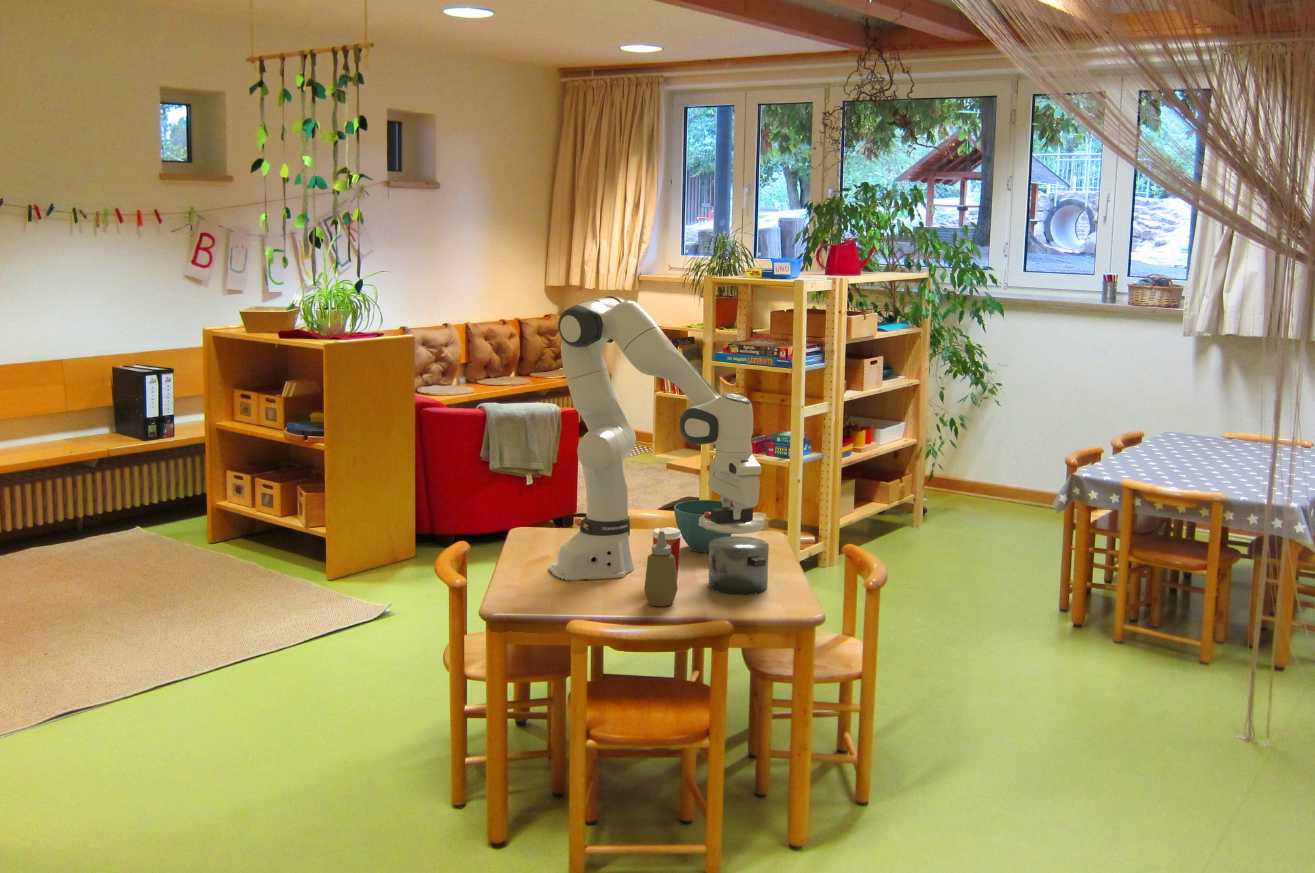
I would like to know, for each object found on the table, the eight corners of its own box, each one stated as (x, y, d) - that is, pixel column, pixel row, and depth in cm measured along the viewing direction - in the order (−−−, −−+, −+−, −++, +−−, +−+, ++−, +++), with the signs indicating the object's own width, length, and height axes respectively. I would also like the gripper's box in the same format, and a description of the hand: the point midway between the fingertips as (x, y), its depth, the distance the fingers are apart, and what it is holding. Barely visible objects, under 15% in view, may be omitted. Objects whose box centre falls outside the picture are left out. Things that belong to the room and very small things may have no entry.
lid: (716, 536, 273) (717, 518, 272) (688, 519, 287) (688, 503, 286) (776, 530, 279) (777, 513, 278) (745, 514, 294) (745, 498, 293)
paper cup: (646, 580, 299) (647, 528, 297) (673, 577, 302) (674, 525, 300) (658, 589, 292) (659, 535, 290) (686, 586, 295) (687, 532, 293)
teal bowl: (660, 547, 330) (660, 505, 328) (705, 536, 342) (706, 496, 340) (705, 561, 317) (705, 518, 315) (750, 549, 329) (752, 507, 327)
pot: (732, 602, 283) (733, 558, 281) (692, 577, 302) (693, 536, 300) (785, 594, 289) (786, 552, 287) (743, 570, 309) (744, 530, 307)
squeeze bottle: (652, 610, 276) (652, 537, 273) (638, 600, 283) (639, 529, 280) (682, 606, 279) (683, 534, 276) (669, 596, 287) (670, 526, 283)
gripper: (703, 453, 288) (701, 507, 291) (741, 470, 270) (739, 527, 272) (725, 452, 291) (723, 505, 293) (765, 468, 272) (762, 525, 275)
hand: (731, 516), depth 283 cm, fingers closed on lid, 3 cm apart
